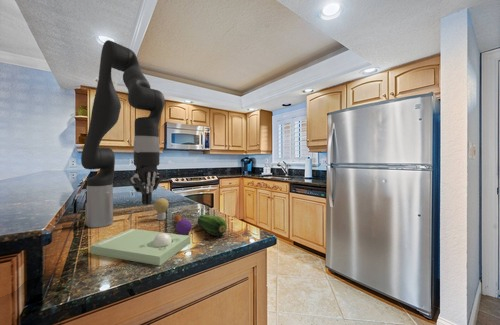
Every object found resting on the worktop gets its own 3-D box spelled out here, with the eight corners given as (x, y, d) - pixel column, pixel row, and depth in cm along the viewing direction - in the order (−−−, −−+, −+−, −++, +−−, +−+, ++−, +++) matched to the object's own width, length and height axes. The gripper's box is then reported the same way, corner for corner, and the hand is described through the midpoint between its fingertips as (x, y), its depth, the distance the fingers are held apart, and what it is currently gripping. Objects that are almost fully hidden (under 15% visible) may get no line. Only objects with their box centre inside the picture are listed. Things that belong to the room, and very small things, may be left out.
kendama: (185, 212, 101) (194, 221, 83) (183, 225, 100) (191, 237, 82) (172, 211, 98) (178, 220, 80) (169, 224, 98) (175, 236, 80)
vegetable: (217, 216, 79) (196, 206, 96) (209, 235, 78) (189, 221, 94) (232, 222, 83) (210, 211, 99) (225, 241, 81) (203, 226, 98)
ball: (164, 255, 66) (150, 254, 68) (175, 247, 71) (161, 246, 73) (163, 237, 66) (148, 236, 67) (174, 230, 71) (160, 230, 73)
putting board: (90, 253, 67) (90, 244, 67) (131, 235, 82) (131, 228, 82) (159, 265, 60) (159, 256, 60) (190, 243, 76) (190, 235, 76)
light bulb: (171, 218, 104) (171, 197, 103) (160, 222, 98) (160, 200, 97) (161, 216, 106) (161, 196, 106) (150, 220, 100) (150, 199, 100)
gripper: (151, 151, 77) (151, 199, 78) (120, 150, 64) (120, 208, 65) (169, 151, 75) (169, 201, 76) (141, 150, 62) (141, 210, 63)
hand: (146, 204), depth 70 cm, fingers closed
